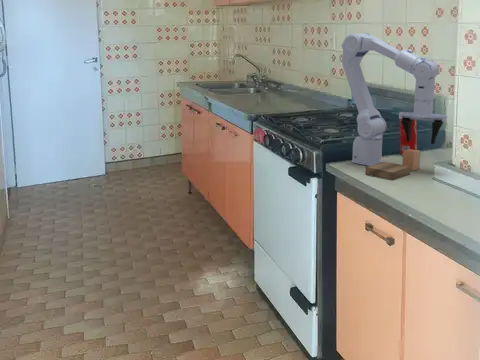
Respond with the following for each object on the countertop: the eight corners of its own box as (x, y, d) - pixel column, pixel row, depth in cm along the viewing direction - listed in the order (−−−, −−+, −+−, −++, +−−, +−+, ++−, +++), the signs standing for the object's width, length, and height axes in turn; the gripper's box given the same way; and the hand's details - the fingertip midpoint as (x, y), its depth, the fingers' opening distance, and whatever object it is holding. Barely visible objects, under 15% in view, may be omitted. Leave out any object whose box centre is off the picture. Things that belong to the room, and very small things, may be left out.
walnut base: (365, 174, 183) (365, 166, 182) (383, 168, 189) (383, 161, 189) (392, 180, 176) (392, 172, 175) (410, 174, 182) (410, 166, 181)
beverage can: (417, 156, 205) (419, 115, 201) (398, 156, 206) (400, 114, 202) (415, 152, 211) (418, 112, 207) (397, 152, 212) (399, 112, 208)
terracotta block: (402, 168, 189) (403, 151, 188) (408, 166, 192) (409, 149, 190) (412, 170, 186) (414, 152, 185) (419, 168, 189) (420, 150, 187)
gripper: (397, 100, 180) (394, 142, 184) (445, 103, 173) (441, 146, 177) (403, 97, 186) (400, 138, 190) (449, 100, 179) (446, 142, 182)
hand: (420, 142), depth 184 cm, fingers open, 7 cm apart
